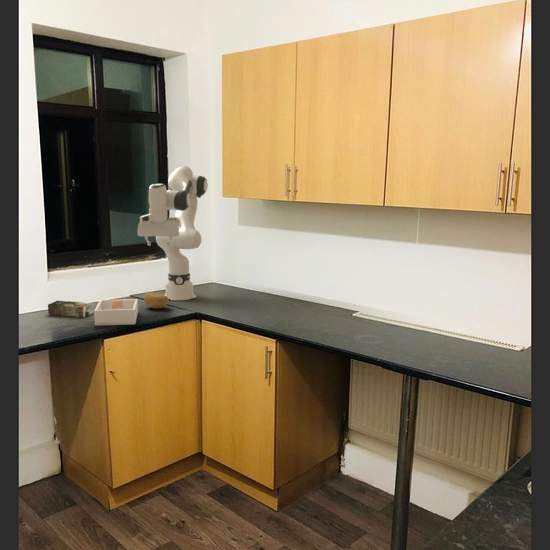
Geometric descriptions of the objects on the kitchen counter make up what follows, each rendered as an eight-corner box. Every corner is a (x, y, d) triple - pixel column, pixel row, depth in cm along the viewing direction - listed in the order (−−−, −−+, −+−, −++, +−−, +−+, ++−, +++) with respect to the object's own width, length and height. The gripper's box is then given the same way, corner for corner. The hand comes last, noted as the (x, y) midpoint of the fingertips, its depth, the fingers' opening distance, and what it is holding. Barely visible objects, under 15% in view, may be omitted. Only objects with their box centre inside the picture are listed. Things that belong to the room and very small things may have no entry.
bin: (100, 313, 275) (100, 299, 273) (138, 312, 278) (137, 299, 277) (94, 325, 253) (94, 310, 252) (135, 324, 257) (134, 309, 255)
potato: (161, 312, 280) (161, 296, 279) (139, 308, 286) (139, 293, 285) (173, 308, 289) (173, 293, 287) (151, 304, 295) (151, 290, 293)
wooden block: (113, 315, 268) (112, 299, 266) (123, 315, 268) (123, 299, 267) (111, 318, 263) (111, 301, 261) (122, 317, 263) (122, 301, 262)
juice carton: (95, 313, 276) (95, 301, 275) (86, 318, 267) (85, 306, 265) (58, 311, 279) (57, 299, 278) (47, 316, 270) (46, 304, 268)
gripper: (179, 216, 275) (180, 244, 278) (137, 216, 272) (138, 244, 274) (179, 217, 269) (180, 246, 272) (136, 217, 265) (137, 246, 268)
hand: (158, 245), depth 273 cm, fingers open, 8 cm apart
